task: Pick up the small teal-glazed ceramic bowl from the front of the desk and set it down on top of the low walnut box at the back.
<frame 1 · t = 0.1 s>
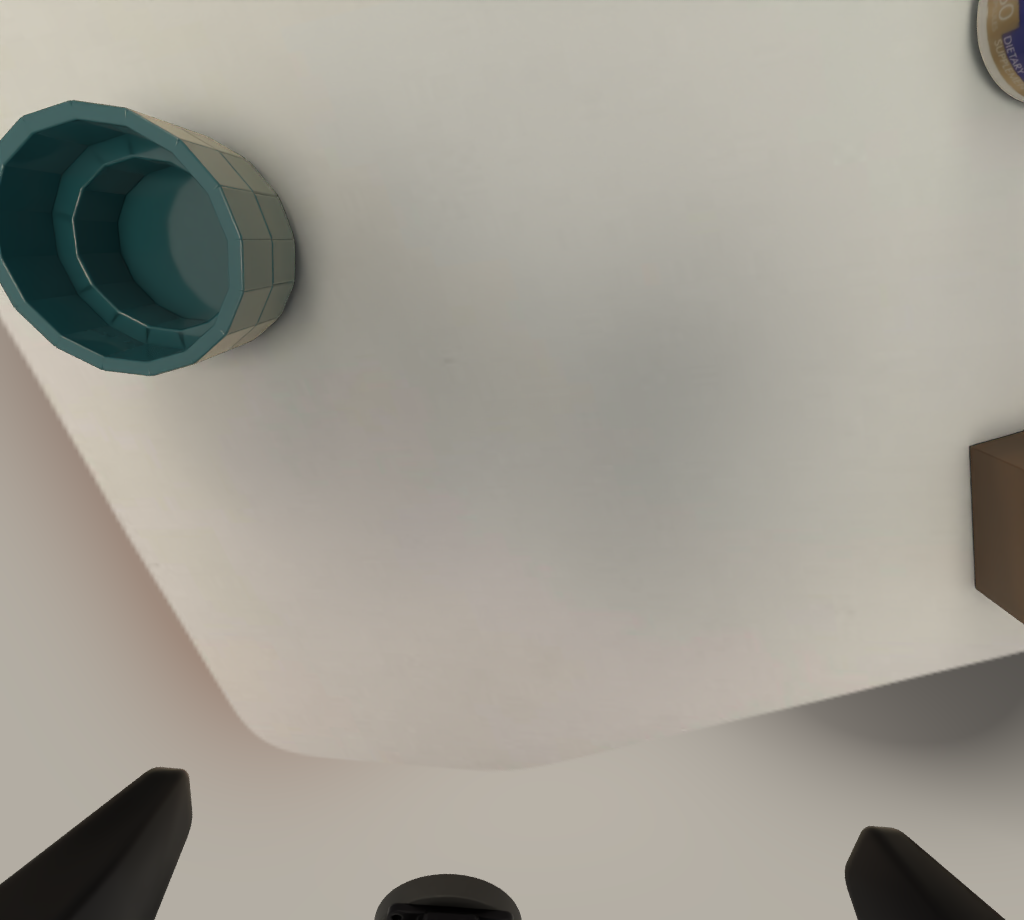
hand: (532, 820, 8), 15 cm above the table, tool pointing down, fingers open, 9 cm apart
bowl: (200, 246, 19), on the table
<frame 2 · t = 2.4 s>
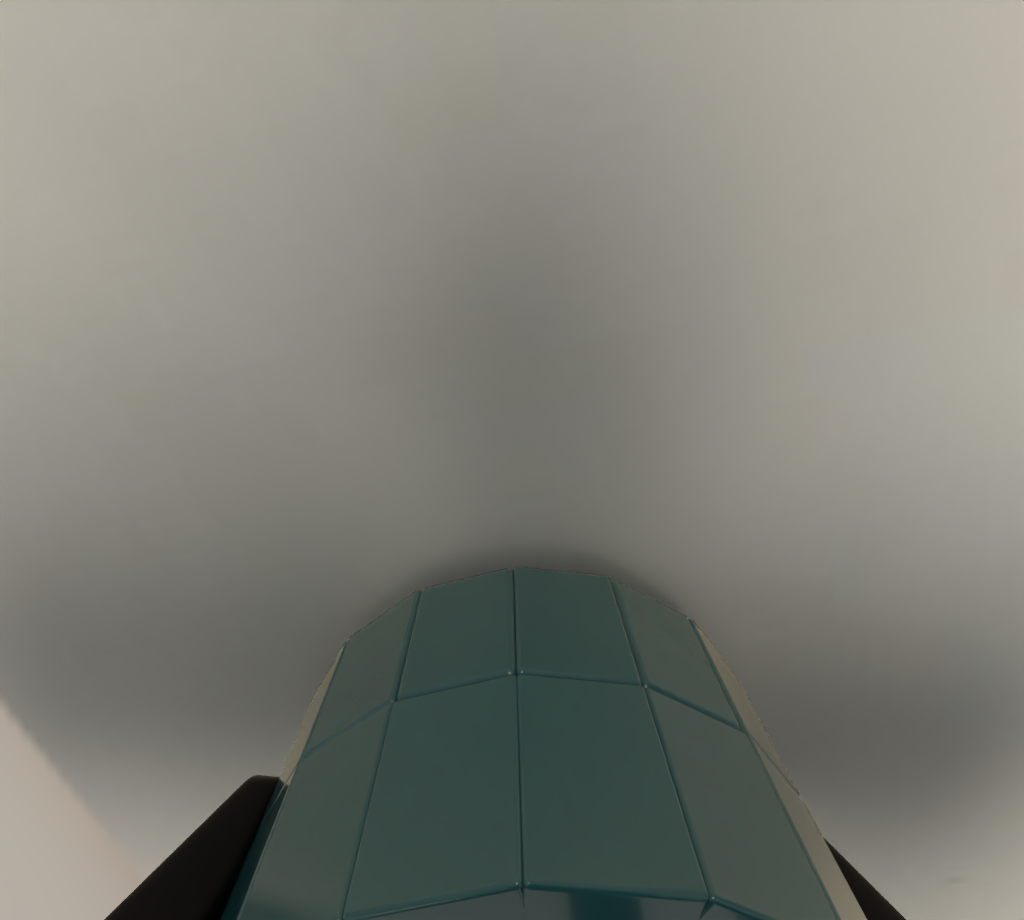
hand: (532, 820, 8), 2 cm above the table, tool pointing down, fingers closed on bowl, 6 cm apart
bowl: (526, 728, 9), on the table, touching gripper
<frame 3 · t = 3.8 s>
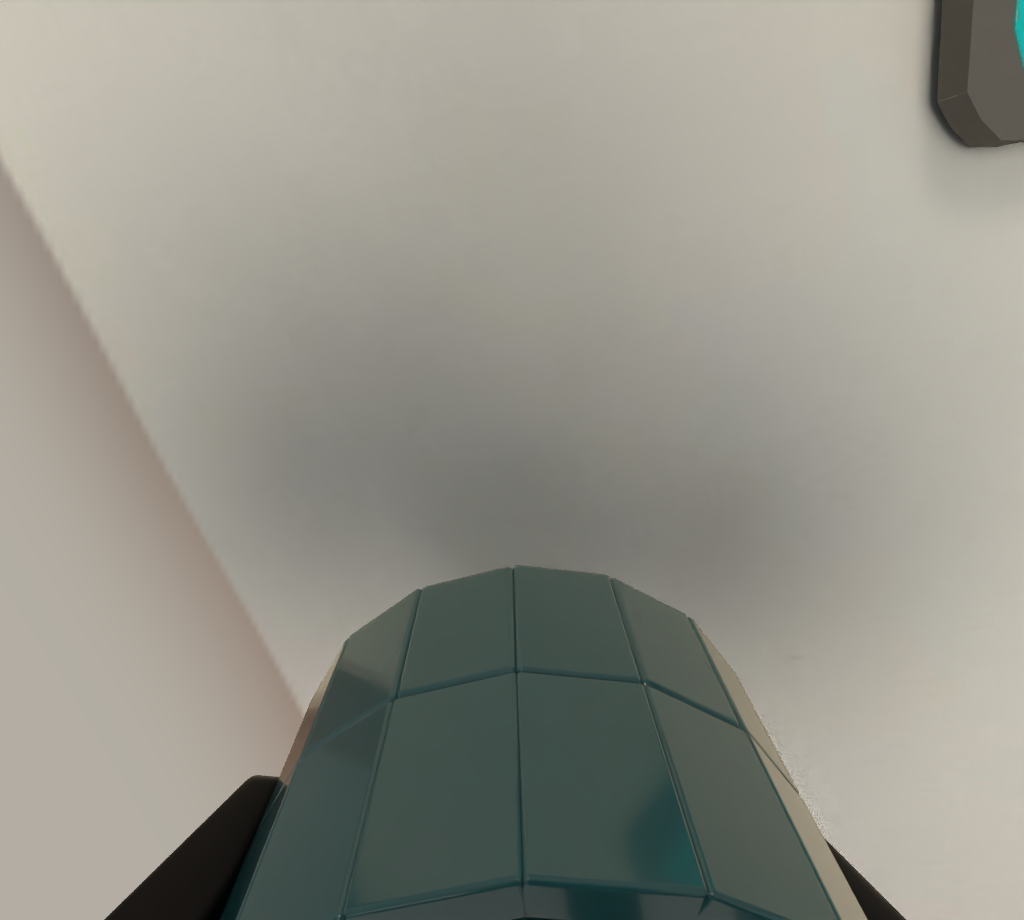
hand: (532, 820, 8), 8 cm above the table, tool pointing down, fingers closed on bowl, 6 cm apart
bowl: (526, 726, 9), point 6 cm above the table, touching gripper
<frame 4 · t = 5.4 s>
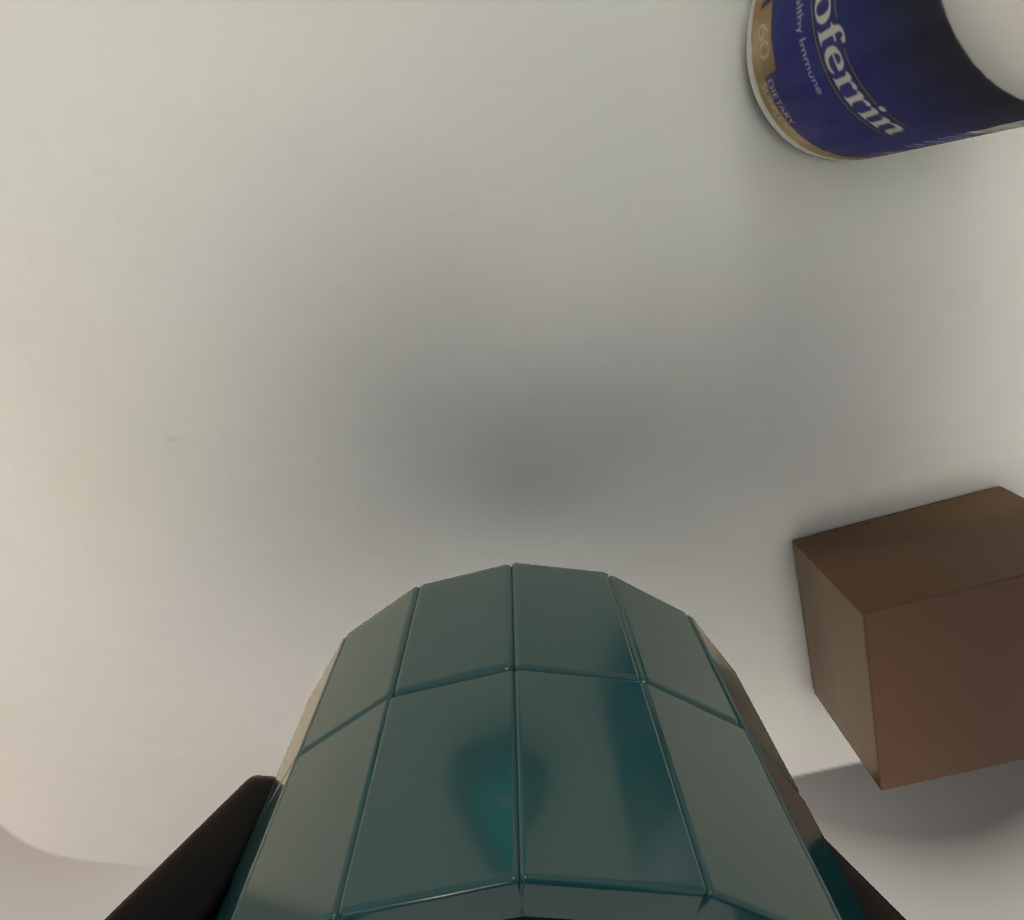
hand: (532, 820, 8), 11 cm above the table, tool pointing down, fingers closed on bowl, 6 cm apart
stand: (900, 596, 20), on the table
pill bottle: (853, 35, 14), on the table
bowl: (525, 725, 9), point 9 cm above the table, touching gripper
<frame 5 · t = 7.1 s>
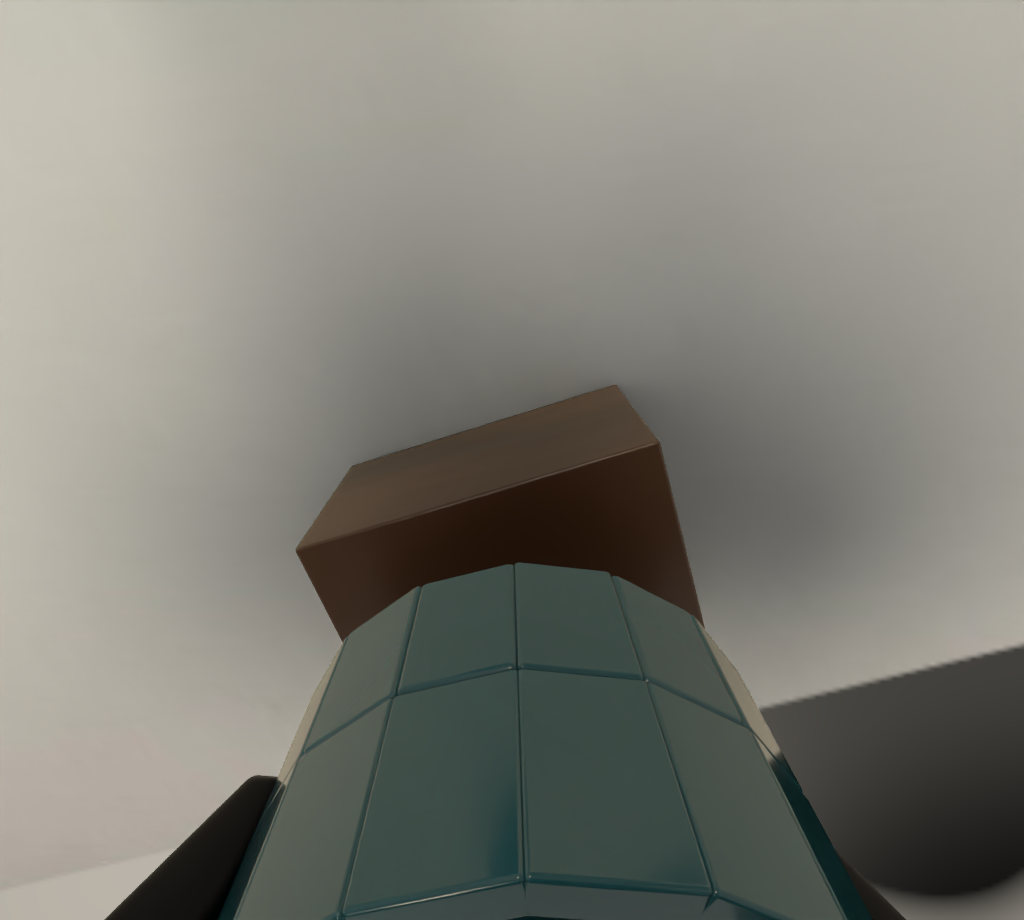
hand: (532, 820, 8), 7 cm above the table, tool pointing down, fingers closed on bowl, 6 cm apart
stand: (522, 543, 15), on the table
bowl: (527, 725, 9), point 6 cm above the table, touching gripper
when the fingers open (6 cm above the table, at t = 8.2 s): bowl stays where it is, resting on stand.
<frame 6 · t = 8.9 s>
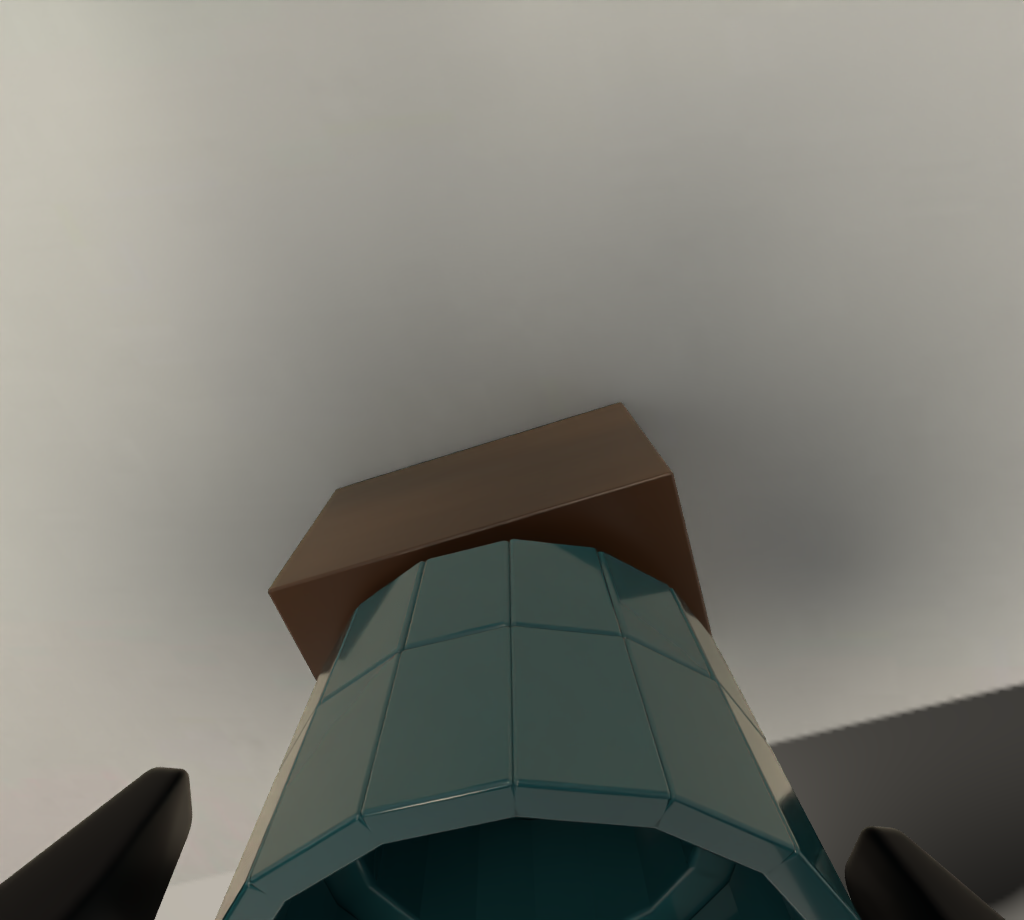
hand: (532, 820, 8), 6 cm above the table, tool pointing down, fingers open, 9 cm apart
stand: (520, 570, 14), on the table
bowl: (522, 693, 10), point 4 cm above the table, touching stand
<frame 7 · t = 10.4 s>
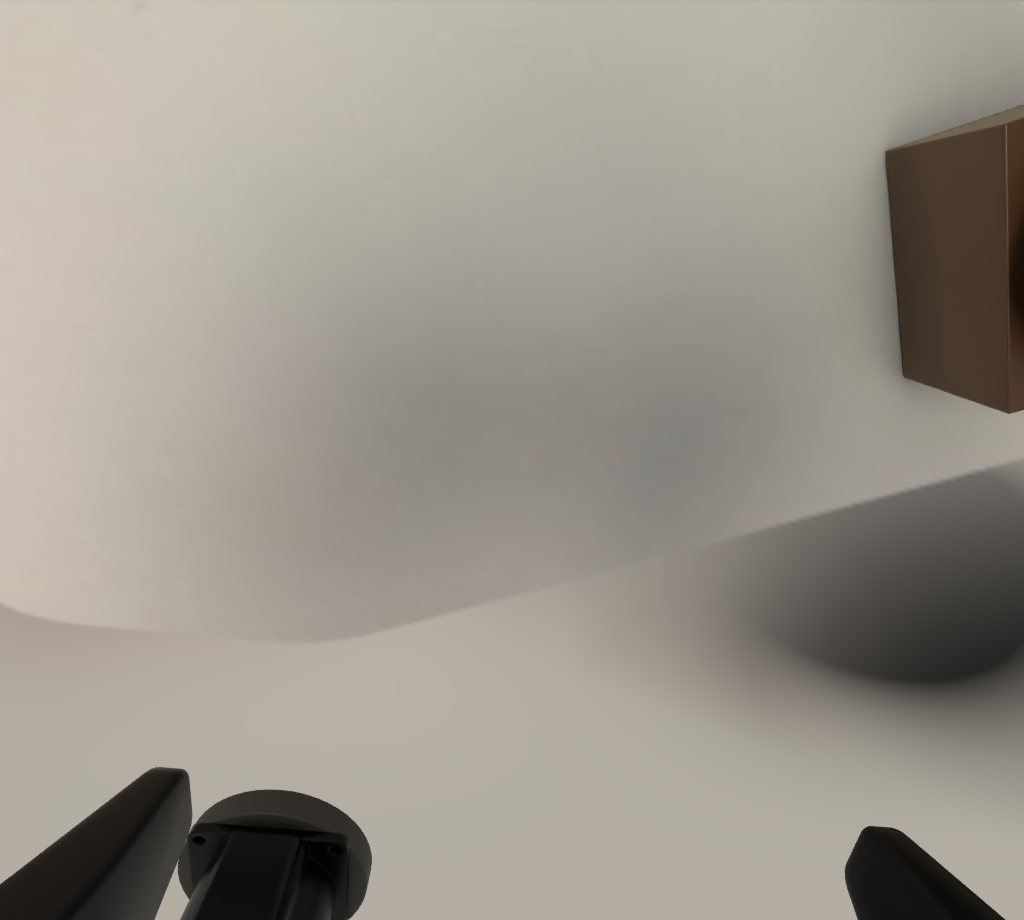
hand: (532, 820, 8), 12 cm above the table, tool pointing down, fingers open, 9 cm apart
stand: (1012, 235, 16), on the table
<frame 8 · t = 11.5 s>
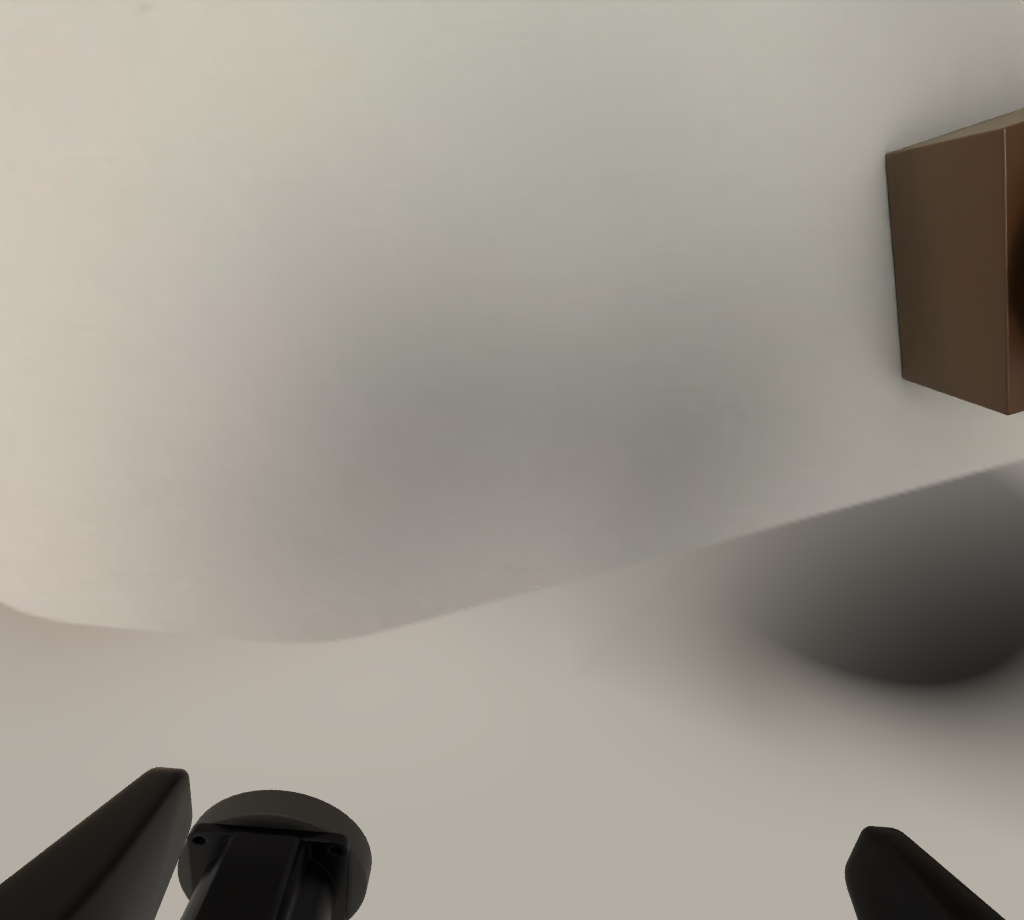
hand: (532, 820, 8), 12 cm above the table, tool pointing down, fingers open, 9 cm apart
stand: (1010, 237, 17), on the table
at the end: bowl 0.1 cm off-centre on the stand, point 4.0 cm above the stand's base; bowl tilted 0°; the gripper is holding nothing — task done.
